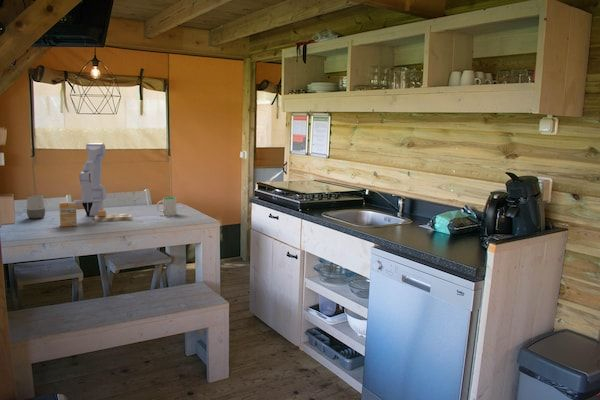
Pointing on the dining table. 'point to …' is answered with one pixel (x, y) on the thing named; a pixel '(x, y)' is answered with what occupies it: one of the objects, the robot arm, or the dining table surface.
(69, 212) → the supplement box
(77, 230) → the dining table surface
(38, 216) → the smart speaker
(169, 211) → the mug
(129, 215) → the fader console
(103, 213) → the fader tab
